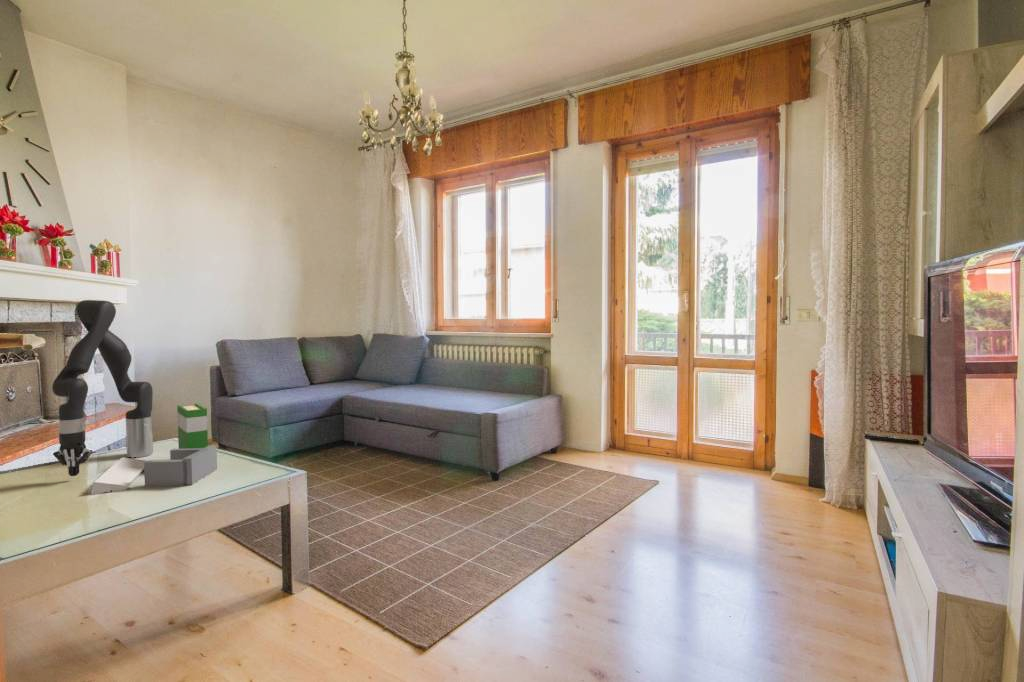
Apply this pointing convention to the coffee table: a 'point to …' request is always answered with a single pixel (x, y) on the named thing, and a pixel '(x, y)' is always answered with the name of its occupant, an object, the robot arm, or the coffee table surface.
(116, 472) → the decorative molding
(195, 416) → the hardback book
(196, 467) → the end cap
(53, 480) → the coffee table surface
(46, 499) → the coffee table surface
